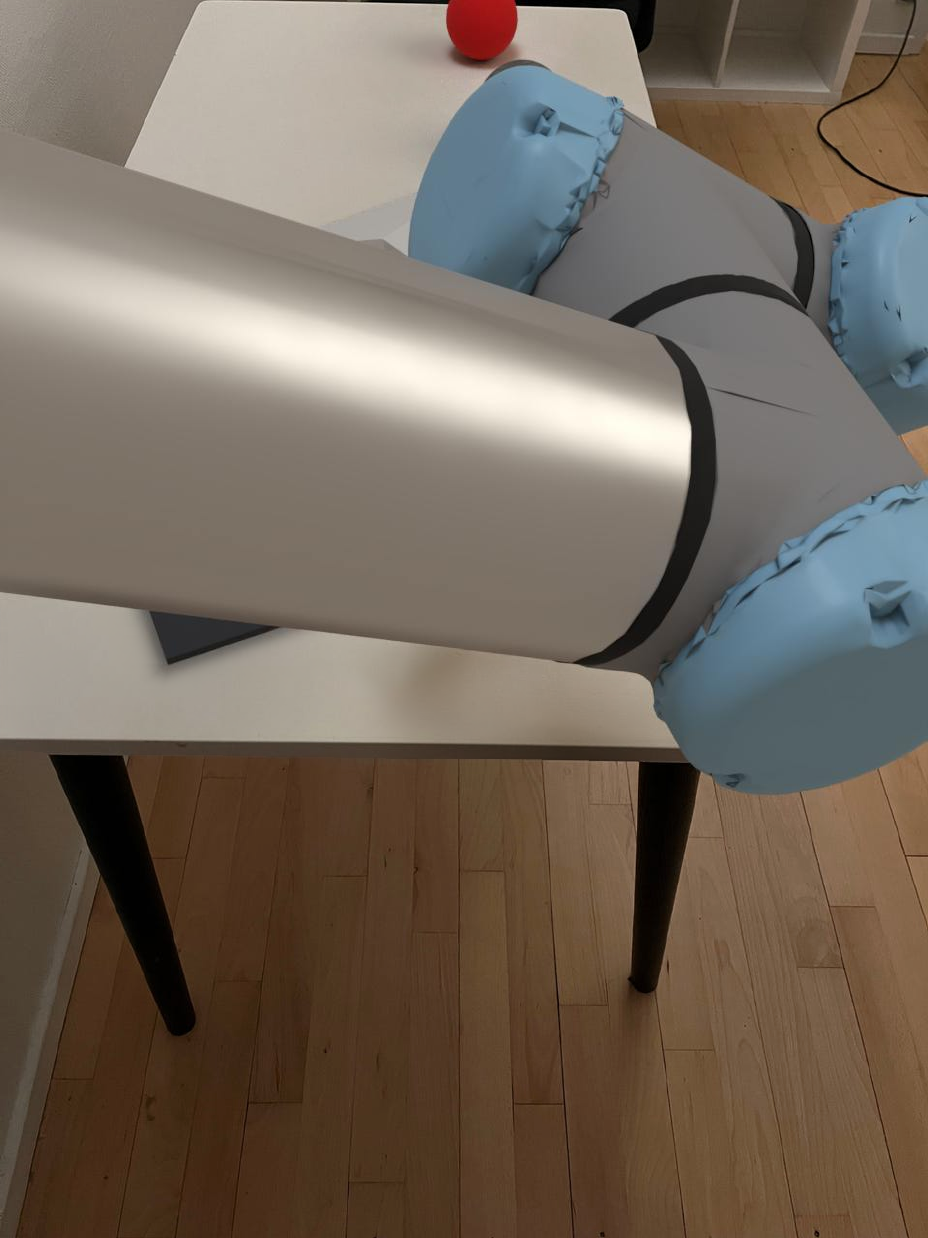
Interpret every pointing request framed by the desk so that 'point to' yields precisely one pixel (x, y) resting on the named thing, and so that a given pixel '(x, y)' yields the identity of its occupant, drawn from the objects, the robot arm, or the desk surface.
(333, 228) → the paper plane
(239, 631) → the felt pad
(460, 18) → the ornament
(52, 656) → the desk surface
